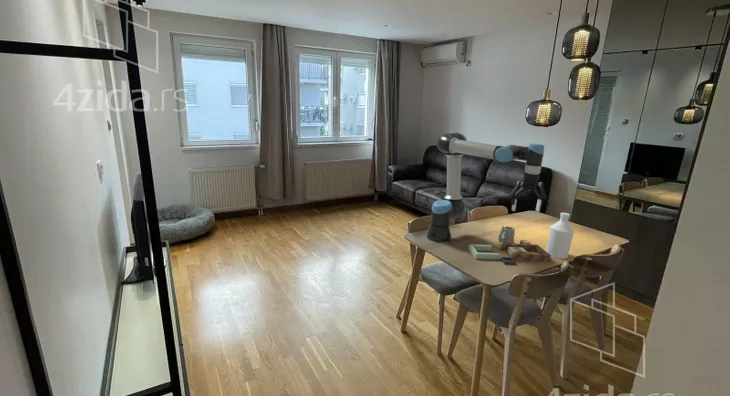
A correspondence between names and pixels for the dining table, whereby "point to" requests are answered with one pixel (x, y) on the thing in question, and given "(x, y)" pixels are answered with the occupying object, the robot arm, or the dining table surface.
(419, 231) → the dining table surface
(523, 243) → the terracotta cube
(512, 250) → the beech block
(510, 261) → the tray
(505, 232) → the mug
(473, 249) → the dock
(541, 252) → the shallow wooden box
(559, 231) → the bottle
